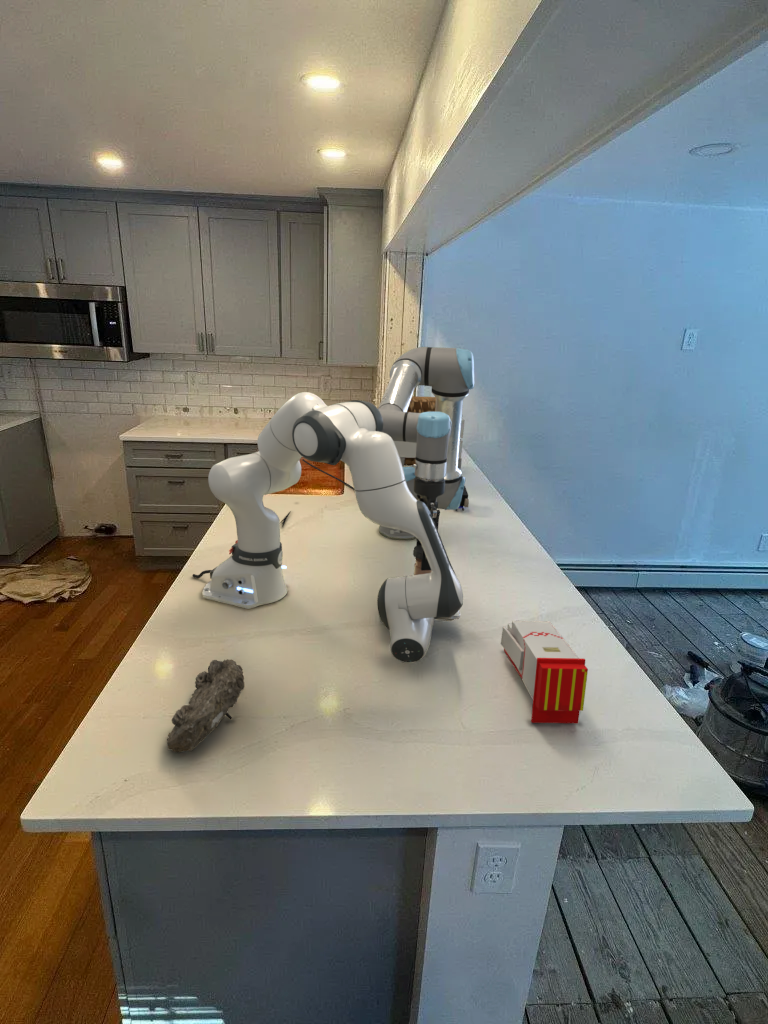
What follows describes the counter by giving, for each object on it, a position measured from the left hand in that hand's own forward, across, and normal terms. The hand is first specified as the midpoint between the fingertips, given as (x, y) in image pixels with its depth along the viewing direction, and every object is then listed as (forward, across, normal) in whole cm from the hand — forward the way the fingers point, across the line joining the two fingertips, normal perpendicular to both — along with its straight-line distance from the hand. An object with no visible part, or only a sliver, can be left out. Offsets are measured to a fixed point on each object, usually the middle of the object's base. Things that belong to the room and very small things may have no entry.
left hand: (421, 588), depth 148 cm
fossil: (-50, +34, +6) cm, 61 cm away
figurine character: (+87, -6, +6) cm, 88 cm away
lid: (-1, 0, -11) cm, 11 cm away
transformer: (+132, +14, +6) cm, 133 cm away
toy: (-25, -28, +6) cm, 38 cm away
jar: (-1, 0, +6) cm, 6 cm away
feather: (+60, +56, +6) cm, 82 cm away
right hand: (-1, 0, -7) cm, 7 cm away
